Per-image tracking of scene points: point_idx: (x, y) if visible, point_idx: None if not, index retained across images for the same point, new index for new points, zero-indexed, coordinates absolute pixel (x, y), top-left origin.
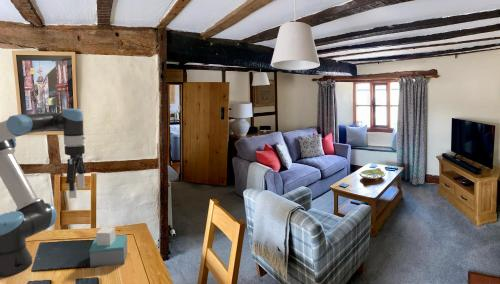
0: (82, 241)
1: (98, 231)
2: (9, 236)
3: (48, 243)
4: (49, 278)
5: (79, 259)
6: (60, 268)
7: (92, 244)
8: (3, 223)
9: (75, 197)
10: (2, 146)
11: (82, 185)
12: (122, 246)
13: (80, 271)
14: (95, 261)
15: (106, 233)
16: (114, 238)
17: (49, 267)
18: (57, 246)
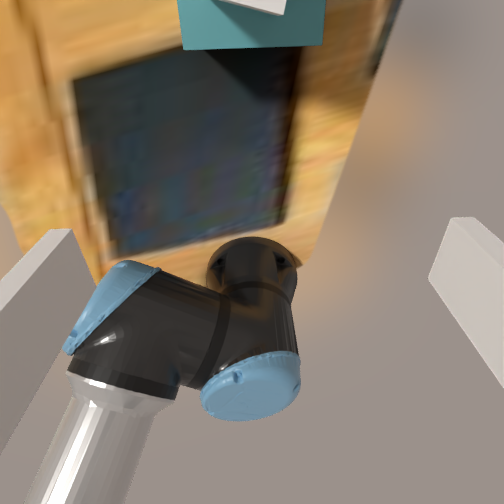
0: (93, 135)
1: (264, 2)
2: (293, 340)
3: (119, 238)
4: (338, 165)
5: (235, 105)
6: (286, 152)
7: (263, 45)
8: (294, 391)
9: (471, 227)
10: None
11: (61, 267)
12: None
13: (325, 75)
14: None
15: None
16: None
17: (272, 186)
18: (138, 207)
